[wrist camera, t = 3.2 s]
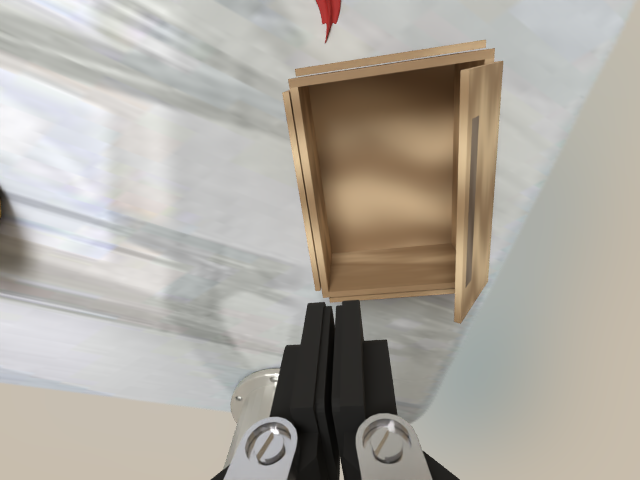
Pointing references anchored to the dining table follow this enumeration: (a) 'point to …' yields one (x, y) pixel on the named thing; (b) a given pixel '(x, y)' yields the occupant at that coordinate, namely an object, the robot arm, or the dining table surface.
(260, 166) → the dining table surface
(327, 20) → the cayenne pepper
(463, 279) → the flap
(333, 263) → the wooden box
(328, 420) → the robot arm
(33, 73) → the dining table surface
